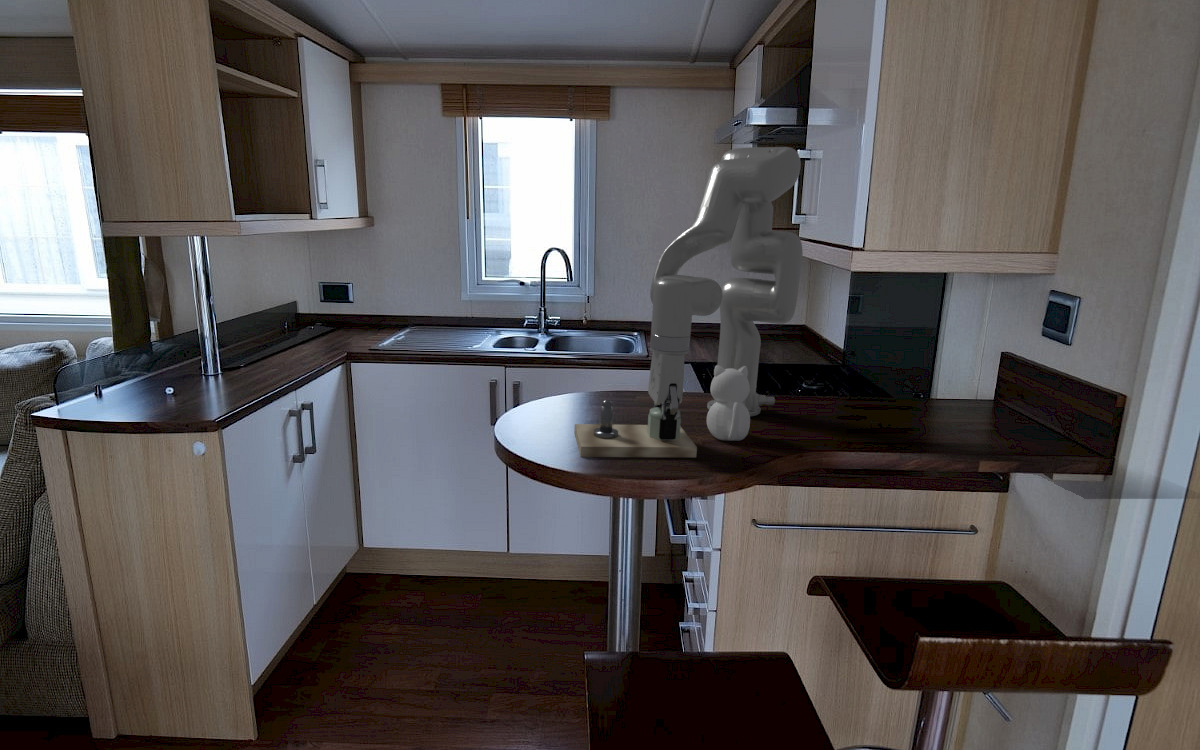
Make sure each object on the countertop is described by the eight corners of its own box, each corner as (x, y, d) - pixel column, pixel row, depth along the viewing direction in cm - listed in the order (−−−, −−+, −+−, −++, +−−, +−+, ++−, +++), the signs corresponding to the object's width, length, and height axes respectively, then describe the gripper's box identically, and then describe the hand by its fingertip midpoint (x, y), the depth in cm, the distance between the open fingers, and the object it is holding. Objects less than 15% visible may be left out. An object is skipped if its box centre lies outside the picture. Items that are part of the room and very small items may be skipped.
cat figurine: (740, 429, 145) (746, 362, 142) (758, 447, 132) (765, 374, 129) (699, 429, 144) (705, 361, 141) (714, 447, 132) (721, 373, 129)
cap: (674, 431, 134) (676, 407, 133) (681, 440, 129) (683, 415, 127) (645, 430, 134) (647, 406, 133) (651, 440, 128) (653, 415, 127)
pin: (616, 431, 132) (618, 396, 131) (619, 439, 128) (621, 402, 126) (592, 431, 132) (593, 396, 130) (594, 438, 127) (596, 402, 125)
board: (678, 434, 139) (679, 425, 138) (696, 457, 125) (697, 447, 125) (574, 433, 136) (574, 424, 136) (580, 456, 123) (581, 446, 122)
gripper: (642, 335, 135) (637, 420, 139) (660, 351, 118) (653, 447, 122) (678, 336, 136) (672, 421, 140) (700, 353, 119) (693, 448, 123)
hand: (663, 432), depth 131 cm, fingers closed on cap, 6 cm apart
